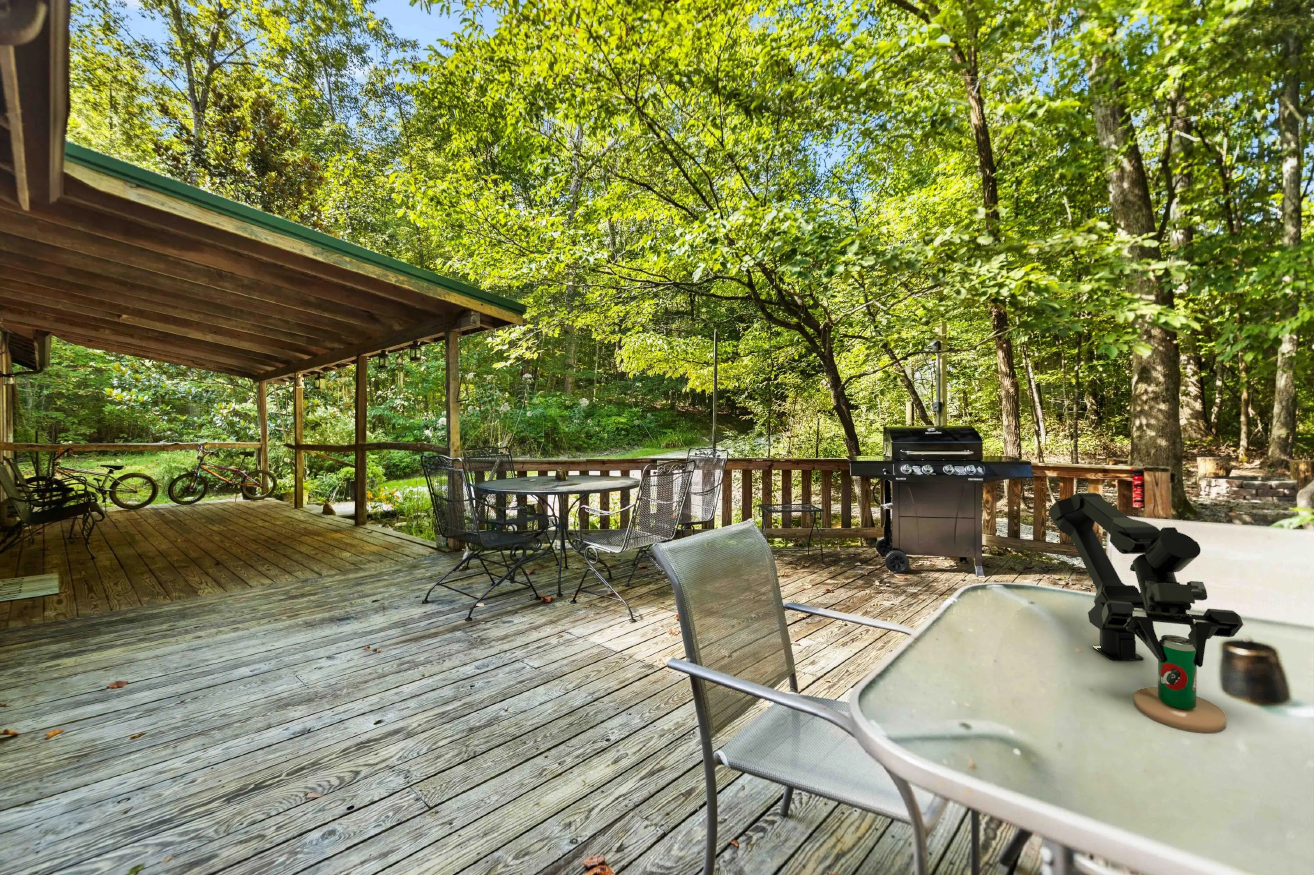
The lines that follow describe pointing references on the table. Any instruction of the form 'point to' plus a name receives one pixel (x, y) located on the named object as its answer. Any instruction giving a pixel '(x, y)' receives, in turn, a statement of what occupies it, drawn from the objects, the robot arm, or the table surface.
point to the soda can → (1177, 672)
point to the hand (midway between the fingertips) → (1180, 663)
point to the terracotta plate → (1181, 713)
